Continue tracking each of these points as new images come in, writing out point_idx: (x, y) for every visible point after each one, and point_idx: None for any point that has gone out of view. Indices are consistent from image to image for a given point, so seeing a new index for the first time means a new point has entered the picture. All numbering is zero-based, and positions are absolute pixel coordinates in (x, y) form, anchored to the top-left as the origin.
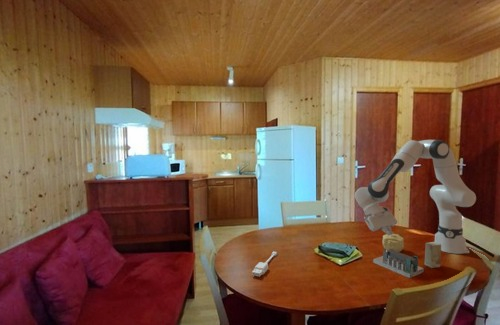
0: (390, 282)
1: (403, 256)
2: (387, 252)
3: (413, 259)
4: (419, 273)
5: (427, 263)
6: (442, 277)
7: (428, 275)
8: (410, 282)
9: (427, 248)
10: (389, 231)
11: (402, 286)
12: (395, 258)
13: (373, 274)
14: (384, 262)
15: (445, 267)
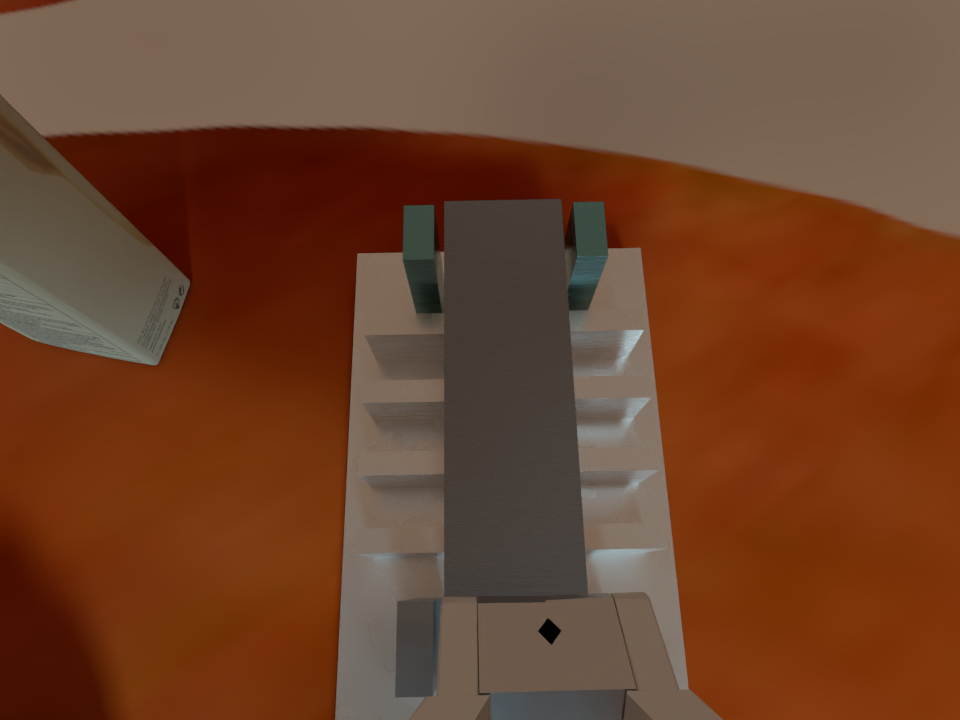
0: (899, 312)
1: (545, 342)
2: None
3: (514, 216)
4: None
5: (159, 315)
6: (328, 137)
7: (400, 215)
8: (705, 221)
9: (22, 226)
10: (602, 672)
11: (846, 215)
12: None
13: (950, 522)
14: None
15: None
